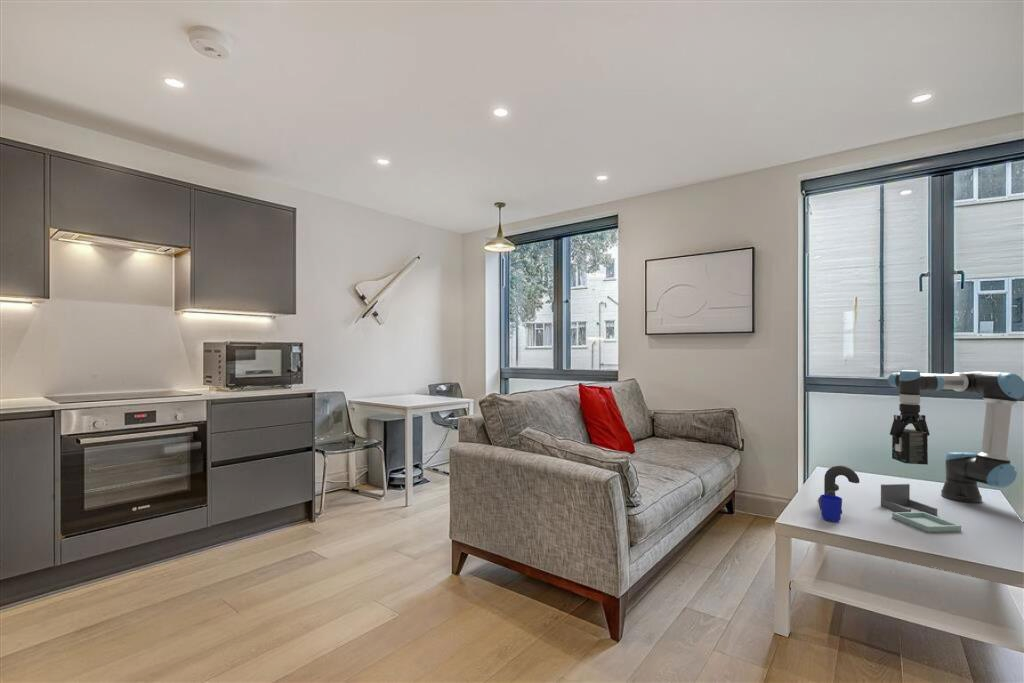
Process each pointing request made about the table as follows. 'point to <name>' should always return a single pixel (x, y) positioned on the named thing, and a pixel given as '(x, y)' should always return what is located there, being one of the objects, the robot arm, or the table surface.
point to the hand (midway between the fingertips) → (909, 451)
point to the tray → (926, 522)
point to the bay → (901, 499)
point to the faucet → (832, 474)
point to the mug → (831, 507)
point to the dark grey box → (912, 447)
